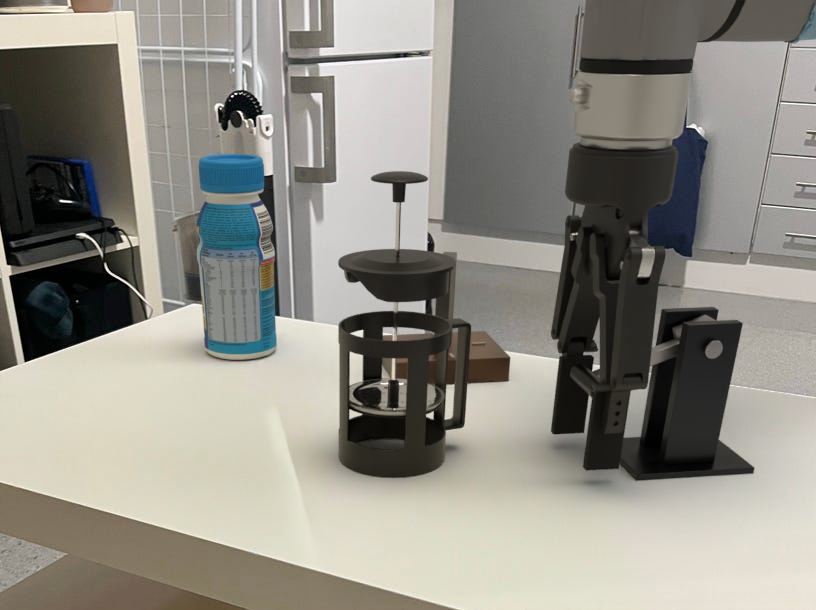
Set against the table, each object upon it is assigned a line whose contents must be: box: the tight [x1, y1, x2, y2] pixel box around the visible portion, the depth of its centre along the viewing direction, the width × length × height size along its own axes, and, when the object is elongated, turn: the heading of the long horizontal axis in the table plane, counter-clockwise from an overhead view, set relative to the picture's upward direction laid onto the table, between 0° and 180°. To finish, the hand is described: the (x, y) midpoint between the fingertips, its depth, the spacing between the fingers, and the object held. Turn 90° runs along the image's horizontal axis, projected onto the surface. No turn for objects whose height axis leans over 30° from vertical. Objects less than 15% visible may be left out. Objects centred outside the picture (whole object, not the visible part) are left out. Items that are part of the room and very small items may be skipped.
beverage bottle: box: [195, 153, 278, 361], centre depth 110 cm, size 8×8×20 cm
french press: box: [337, 170, 472, 479], centre depth 80 cm, size 12×9×23 cm
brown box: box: [382, 330, 511, 385], centre depth 109 cm, size 12×10×3 cm
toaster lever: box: [570, 315, 716, 398], centre depth 80 cm, size 11×5×2 cm, turn 98°
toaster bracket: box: [619, 306, 756, 482], centre depth 82 cm, size 10×8×13 cm
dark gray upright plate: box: [433, 251, 458, 340], centre depth 105 cm, size 5×1×9 cm, turn 168°
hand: (583, 449), depth 83 cm, fingers open, 7 cm apart
